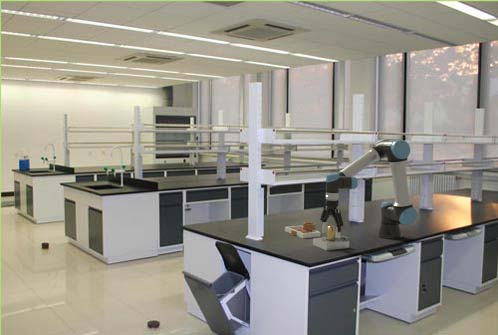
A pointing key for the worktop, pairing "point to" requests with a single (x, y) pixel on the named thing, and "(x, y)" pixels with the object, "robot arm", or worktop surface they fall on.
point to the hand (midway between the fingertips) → (331, 235)
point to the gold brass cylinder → (331, 233)
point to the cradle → (302, 235)
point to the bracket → (304, 228)
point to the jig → (331, 243)
